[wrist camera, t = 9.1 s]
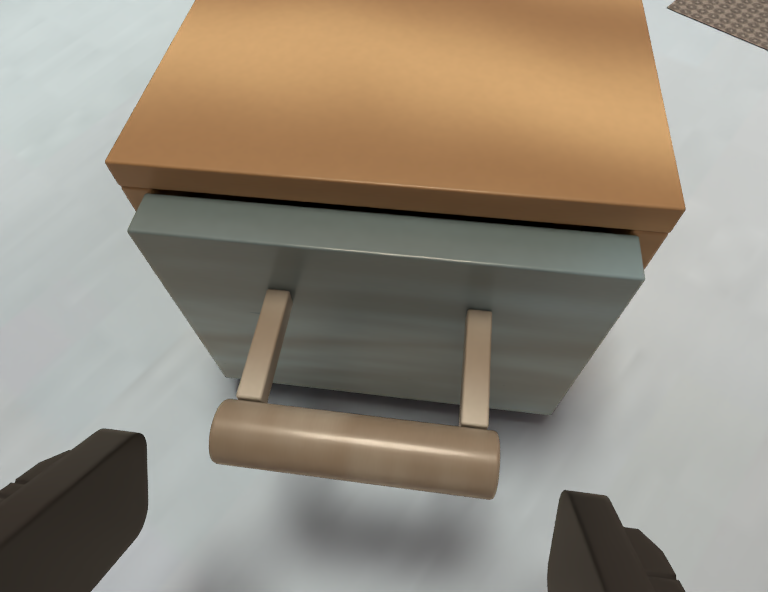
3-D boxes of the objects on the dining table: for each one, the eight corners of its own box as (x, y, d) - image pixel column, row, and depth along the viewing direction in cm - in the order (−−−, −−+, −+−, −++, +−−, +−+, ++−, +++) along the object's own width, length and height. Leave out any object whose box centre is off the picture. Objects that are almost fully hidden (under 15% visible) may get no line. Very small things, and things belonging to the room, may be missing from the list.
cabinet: (561, 394, 20) (687, 209, 11) (225, 356, 21) (103, 162, 12) (549, 122, 27) (619, -113, 19) (304, 105, 28) (263, -124, 20)
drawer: (555, 555, 16) (678, 494, 9) (186, 503, 17) (36, 412, 10) (542, 139, 25) (597, -52, 18) (304, 122, 26) (269, -65, 19)
